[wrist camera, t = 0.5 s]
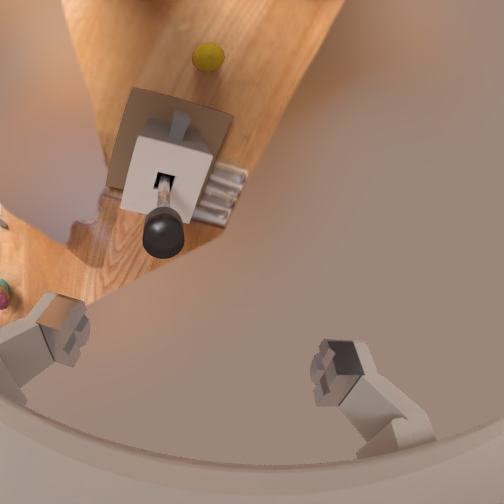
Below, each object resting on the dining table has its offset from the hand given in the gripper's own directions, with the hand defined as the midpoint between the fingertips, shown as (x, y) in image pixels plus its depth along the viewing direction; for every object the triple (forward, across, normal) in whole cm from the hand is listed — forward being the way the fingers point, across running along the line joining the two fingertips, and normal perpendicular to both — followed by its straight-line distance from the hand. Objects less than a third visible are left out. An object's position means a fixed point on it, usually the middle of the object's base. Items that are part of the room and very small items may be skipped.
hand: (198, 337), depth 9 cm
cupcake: (+38, +60, +39) cm, 81 cm away
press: (+48, +14, +3) cm, 50 cm away
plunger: (+38, +11, +3) cm, 40 cm away
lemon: (+49, +9, -16) cm, 52 cm away
